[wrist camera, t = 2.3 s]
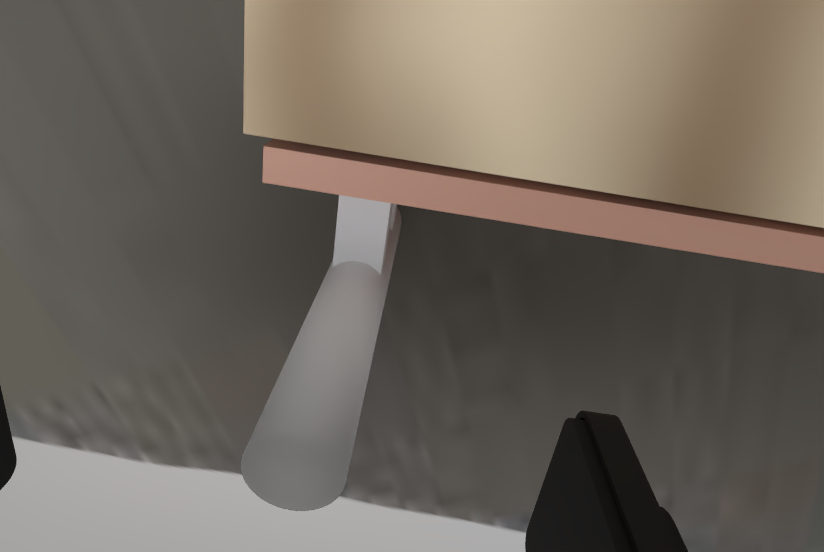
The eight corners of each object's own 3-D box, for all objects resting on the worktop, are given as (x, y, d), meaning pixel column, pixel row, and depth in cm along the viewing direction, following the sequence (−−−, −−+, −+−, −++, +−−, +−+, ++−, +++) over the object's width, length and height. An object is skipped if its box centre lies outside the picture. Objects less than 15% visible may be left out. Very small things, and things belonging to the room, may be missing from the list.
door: (885, 176, 20) (1716, 491, 7) (828, 279, 22) (1396, 680, 9) (340, 86, 20) (129, 235, 7) (330, 199, 22) (151, 488, 9)
